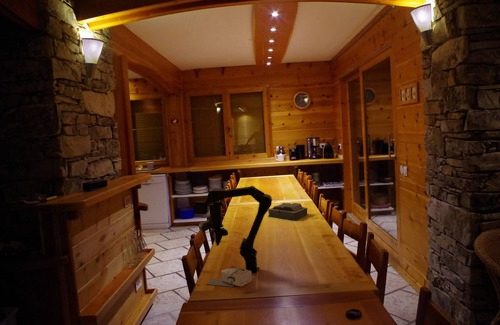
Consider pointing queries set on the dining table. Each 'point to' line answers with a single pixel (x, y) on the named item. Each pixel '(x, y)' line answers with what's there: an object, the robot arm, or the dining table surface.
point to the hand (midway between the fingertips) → (217, 245)
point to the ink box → (236, 276)
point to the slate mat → (219, 283)
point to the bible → (288, 211)
